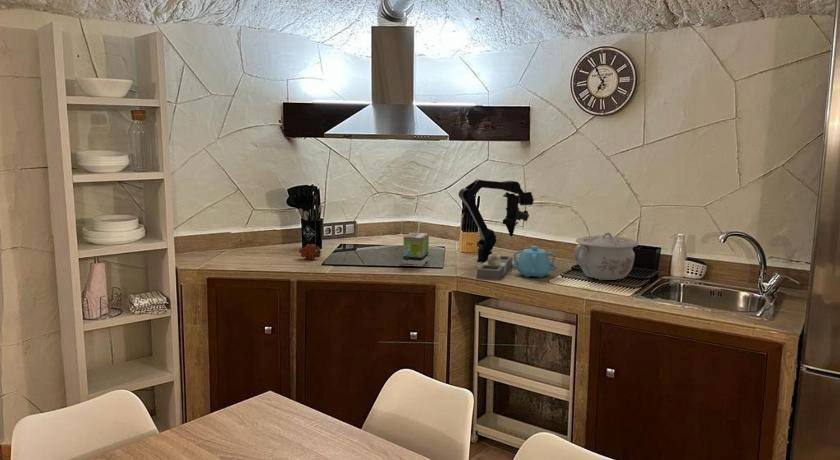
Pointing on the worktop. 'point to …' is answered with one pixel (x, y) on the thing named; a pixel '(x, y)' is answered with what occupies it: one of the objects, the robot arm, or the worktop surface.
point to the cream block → (494, 259)
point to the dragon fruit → (310, 251)
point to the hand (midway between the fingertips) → (511, 236)
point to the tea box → (415, 248)
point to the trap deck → (494, 269)
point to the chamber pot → (605, 256)
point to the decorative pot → (534, 262)
